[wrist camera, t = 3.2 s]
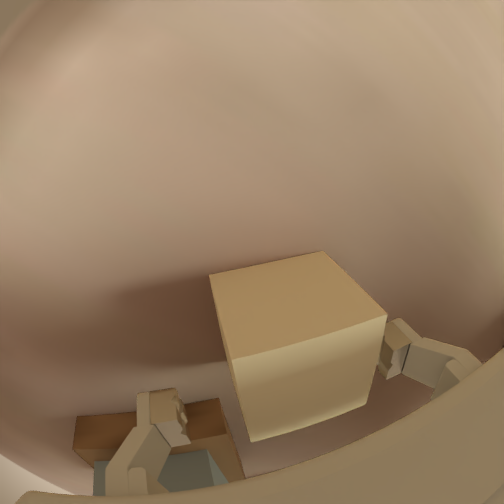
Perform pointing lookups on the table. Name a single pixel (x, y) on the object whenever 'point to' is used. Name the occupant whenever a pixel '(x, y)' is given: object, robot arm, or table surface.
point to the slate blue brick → (175, 473)
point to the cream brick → (297, 341)
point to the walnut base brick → (202, 437)
